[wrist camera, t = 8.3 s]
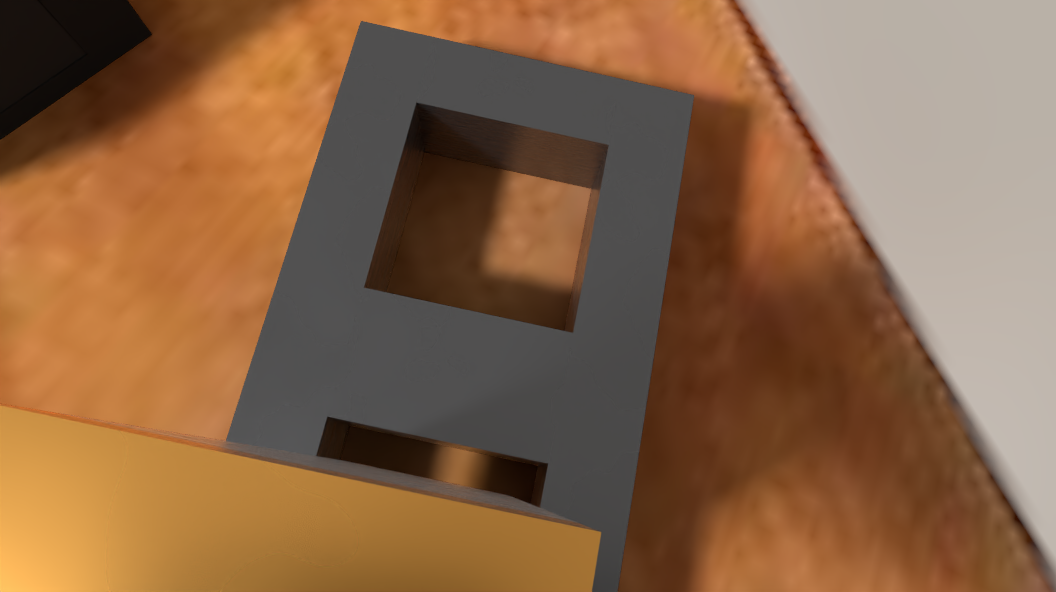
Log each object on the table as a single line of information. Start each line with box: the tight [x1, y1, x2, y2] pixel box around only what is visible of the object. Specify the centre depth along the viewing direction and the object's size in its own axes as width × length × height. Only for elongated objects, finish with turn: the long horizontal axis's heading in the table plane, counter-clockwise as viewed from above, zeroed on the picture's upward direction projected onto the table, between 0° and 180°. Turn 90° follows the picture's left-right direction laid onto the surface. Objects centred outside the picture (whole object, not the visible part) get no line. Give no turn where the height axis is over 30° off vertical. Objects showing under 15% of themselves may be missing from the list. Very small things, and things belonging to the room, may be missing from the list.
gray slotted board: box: [226, 21, 694, 592], centre depth 17 cm, size 28×10×3 cm, turn 168°
